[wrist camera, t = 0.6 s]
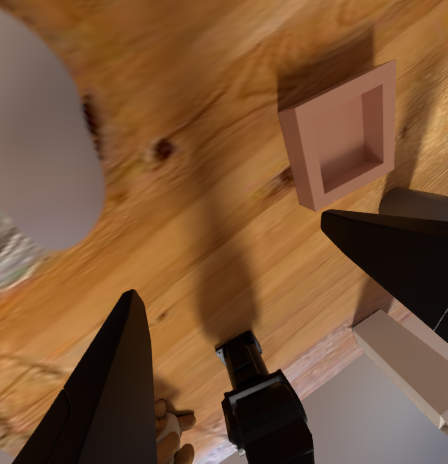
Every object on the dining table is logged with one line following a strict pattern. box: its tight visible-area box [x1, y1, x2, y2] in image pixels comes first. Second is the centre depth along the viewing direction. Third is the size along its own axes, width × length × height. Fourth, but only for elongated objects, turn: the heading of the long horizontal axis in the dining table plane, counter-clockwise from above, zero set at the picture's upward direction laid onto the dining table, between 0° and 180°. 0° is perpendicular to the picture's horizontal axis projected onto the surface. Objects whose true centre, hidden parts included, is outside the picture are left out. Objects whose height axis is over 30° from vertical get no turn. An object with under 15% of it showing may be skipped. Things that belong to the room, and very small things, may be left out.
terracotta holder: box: [278, 59, 396, 212], centre depth 23 cm, size 11×11×3 cm
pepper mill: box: [379, 187, 448, 221], centre depth 25 cm, size 5×5×13 cm
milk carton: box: [352, 309, 448, 436], centre depth 35 cm, size 7×7×19 cm
